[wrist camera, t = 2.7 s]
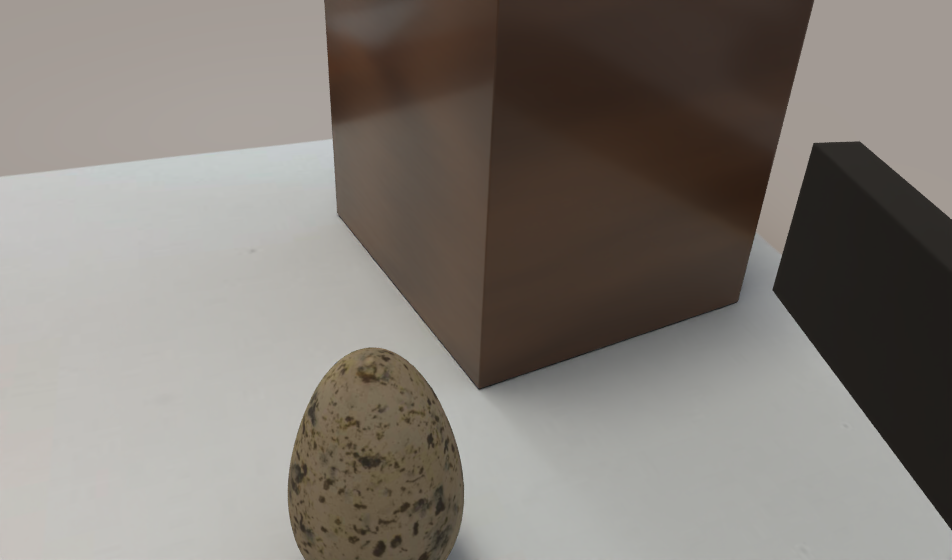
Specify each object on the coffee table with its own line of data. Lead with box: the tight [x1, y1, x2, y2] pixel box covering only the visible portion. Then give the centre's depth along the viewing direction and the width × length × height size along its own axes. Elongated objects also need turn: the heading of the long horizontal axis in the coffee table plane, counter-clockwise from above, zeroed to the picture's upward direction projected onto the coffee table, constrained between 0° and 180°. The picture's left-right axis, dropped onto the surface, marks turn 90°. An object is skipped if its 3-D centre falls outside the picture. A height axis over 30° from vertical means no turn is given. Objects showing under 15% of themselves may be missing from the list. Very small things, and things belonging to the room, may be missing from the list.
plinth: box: [324, 0, 814, 389], centre depth 43 cm, size 18×16×26 cm
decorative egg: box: [288, 348, 464, 560], centre depth 29 cm, size 6×6×10 cm
